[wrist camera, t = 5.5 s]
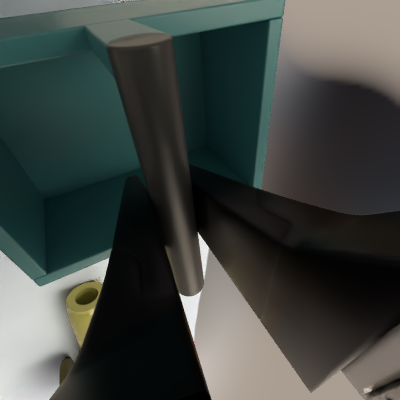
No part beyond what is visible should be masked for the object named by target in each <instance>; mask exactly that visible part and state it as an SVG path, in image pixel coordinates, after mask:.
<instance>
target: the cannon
mask: <svg viewBox="0 0 400 400" xmlns="http://www.w3.org/2000/svg"><path fill="white" fill-rule="evenodd" d="M102 285H103V284H101V283H99V282H87V283H84V284H81V285H79V286H77V287H76V288H74V289H73V290H72V291H71V292H70V294H69V295H68V297H67V300H66V304H67V306H66V310H67V314H68V317H69V319H70V322H71V325H72V328H73V331H74V334H75V337H76V340H77V343H78V345H79V347H80V348H81V346H82V343H83V340H84V338H85V335H86V332H87V329H88V326H89V323H90V320H91V317H92V315H93V312H94V309H95V306H96V303H97V300H98V297H99V295H100V291H101V288H102ZM73 364H74V363H73V360H72V359H71V358H68V359H65V360H63V361H62V363H61V366H60V385H61V383H62V382H63V381H64V379H65V378H66V376H67V375H68V373H69V371H70V370H71V368H72V366H73Z"/></svg>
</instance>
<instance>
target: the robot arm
mask: <svg viewBox="0 0 400 400" xmlns="http://www.w3.org/2000/svg"><path fill="white" fill-rule="evenodd" d="M189 168H190V176H191V184H192V192H193V200H194V207H195V215H196V223H197V231H198V232H199V234H200V235H201V237H202V238H203V240H204V241H205V242H206V244H207V245H208V247H209V248H210V250H211V251H212V252H213V254H214V255H215V257H216V258H217V260H218V261H219V262H220V264H221V265H222V267H223V268H224V270H225V271H226V272H227V274H228V275H229V277H230V278H231V279H232V281H233V282H234V284H235V285H236V287H237V288H238V290H239V291H240V292H241V294H242V295H243V297H244V298H245V300H246V301H247V302H248V304H249V305H250V307H251V308H252V309H253V311H254V312H255V314H256V315H257V317H258V318H259V319H261V320H260V321H261V323H262V324H263V325H264V327H265V328H266V329H267V331H268V333H269V334H270V335H271V337H272V338H273V340H274V341H275V343H276V344H277V345H278V347H279V348H280V350H281V351H282V353H283V354H284V355H285V357H286V358H287V360H288V361H289V363H290V364H291V365H292V367H293V368H294V370H295V371H296V373H297V374H298V375H299V377H300V378H301V380H302V381H303V383H304V384H305V385H306V387H307V388H308V389H309V391H310V392H313V391H314V390H316V389H317V388H318V387H319V386H321V385H322V384H323V383H325V382H326V381H327V380H329V379H330V378H331V377H332V376H334V375H335V374H336V373H337V372H339V371H340V370H341V371H342V372H343V373H344V375H345V376H346V377H347V378H348V380H349V381H350V382H351V383H352V385H353V386H354V387H355V389H357V391H358V392H359V394H360V395H361V396H362V397H363V399H364V400H400V210H399V211H392V212H384V213H377V214H369V215H351V214H345V213H340V212H336V211H332V210H329V209H325V208H321V207H318V206H314V205H310V204H306V203H302V202H299V201H296V200H292V199H289V198H285V197H282V196H279V195H276V194H273V193H270V192H267V191H264V190H261V189H259V188H257V189H256V188H255V187H253V186H250V185H247V184H245V183H242V182H239V181H236V180H233V179H231V178H228V177H225V176H222V175H220V174H217V173H214V172H211V171H208V170H206V169H203V168H200V167H197V166H195V165H192V164H189ZM49 400H211V397H210V394H209V390H208V387H207V384H206V381H205V377H204V374H203V371H202V368H201V364H200V361H199V358H198V355H197V351H196V348H195V344H194V341H193V338H192V335H191V331H190V328H189V325H188V322H187V318H186V315H185V312H184V308H183V305H182V302H181V298H180V295H179V292H178V288H177V285H176V281H175V278H174V275H173V271H172V268H171V265H170V261H169V258H168V255H167V251H166V248H165V244H164V241H163V238H162V234H161V231H160V228H159V224H158V221H157V217H156V214H155V211H154V207H153V204H152V201H151V199H150V197H149V194H148V190H147V188H146V187H145V185H144V184H143V182H142V180H141V179H140V177H139V176H138V175H137V174H134V175H131V176H129V177H126V179H125V183H124V188H123V193H122V198H121V203H120V208H119V213H118V219H117V224H116V229H115V234H114V239H113V244H112V250H111V253H110V258H109V263H108V267H107V271H106V275H105V279H104V282H103V285H102V288H101V291H100V295H99V297H98V300H97V303H96V306H95V309H94V312H93V315H92V317H91V320H90V323H89V326H88V329H87V332H86V335H85V338H84V340H83V343H82V346H81V349H80V351H79V354H78V356H77V358H76V360H75V362H74V364H73V366H72V368H71V370H70V371H69V373H68V375H67V376H66V378H65V379H64V381H63V382H62V383H61V385H60V386H59V387H58V389H57V390H56V391H55V393H54V394H53V395H52V397H51V398H50V399H49Z"/></svg>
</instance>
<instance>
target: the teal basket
mask: <svg viewBox="0 0 400 400" xmlns="http://www.w3.org/2000/svg"><path fill="white" fill-rule="evenodd" d="M284 6H285V0H136V1H129V2H121V3H114V4H106V5H98V6H91V7H83V8H76V9H68V10H61V11H53V12H45V13H38V14H30V15H23V16H15V17H8V18H0V250H1V251H2V252H3V253H4V254H5V255H6V256H7V257H8V258H10V259H11V260H12V261H13V262H14V263H15V264H16V265H17V266H18V267H19V268H20V269H21V270H23V271H24V272H25V273H26V274H27V275H28V276H29V277H30V278H31V279H33V280H34V282H35V283H37V284H38V285H39V286H43V285H45V284H48V283H50V282H53V281H55V280H57V279H60V278H62V277H64V276H67V275H69V274H71V273H74V272H76V271H79V270H81V269H83V268H86V267H88V266H90V265H93V264H95V263H97V262H100V261H102V260H105V259H107V258H109V257H110V253H111V250H112V244H113V239H114V234H115V229H116V224H117V219H118V213H119V208H120V203H121V198H122V193H123V188H124V183H125V179H126V177H129V176H131V175H134V174H137V175H138V176H139V177H140V179H141V180H142V182H143V184H144V185H145V187H146V188H147V190H148V194H149V197H150V199H151V201H152V204H153V207H154V211H155V214H156V217H157V221H158V224H159V228H160V231H161V234H162V238H163V241H164V244H165V248H166V251H167V255H168V258H169V261H170V265H171V268H172V271H173V275H174V278H175V281H176V285H177V288H178V292H179V293H180V294H182V295H184V296H194V295H196V294H198V293H199V292H200V291H201V290H202V288H203V285H204V278H203V270H202V262H201V255H200V247H199V239H198V231H197V223H196V215H195V207H194V200H193V192H192V184H191V176H190V168H189V164H192V165H195V166H197V167H200V168H203V169H206V170H208V171H211V172H214V173H217V174H220V175H222V176H225V177H228V178H231V179H233V180H236V181H239V182H242V183H245V184H247V185H250V186H253V187H255V188H256V189H257V188H259V189H261V185H262V177H263V170H264V162H265V154H266V147H267V139H268V131H269V123H270V115H271V107H272V100H273V92H274V84H275V76H276V68H277V60H278V52H279V45H280V36H281V29H282V21H283V19H282V18H281V17H282V16H283V13H284Z"/></svg>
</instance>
